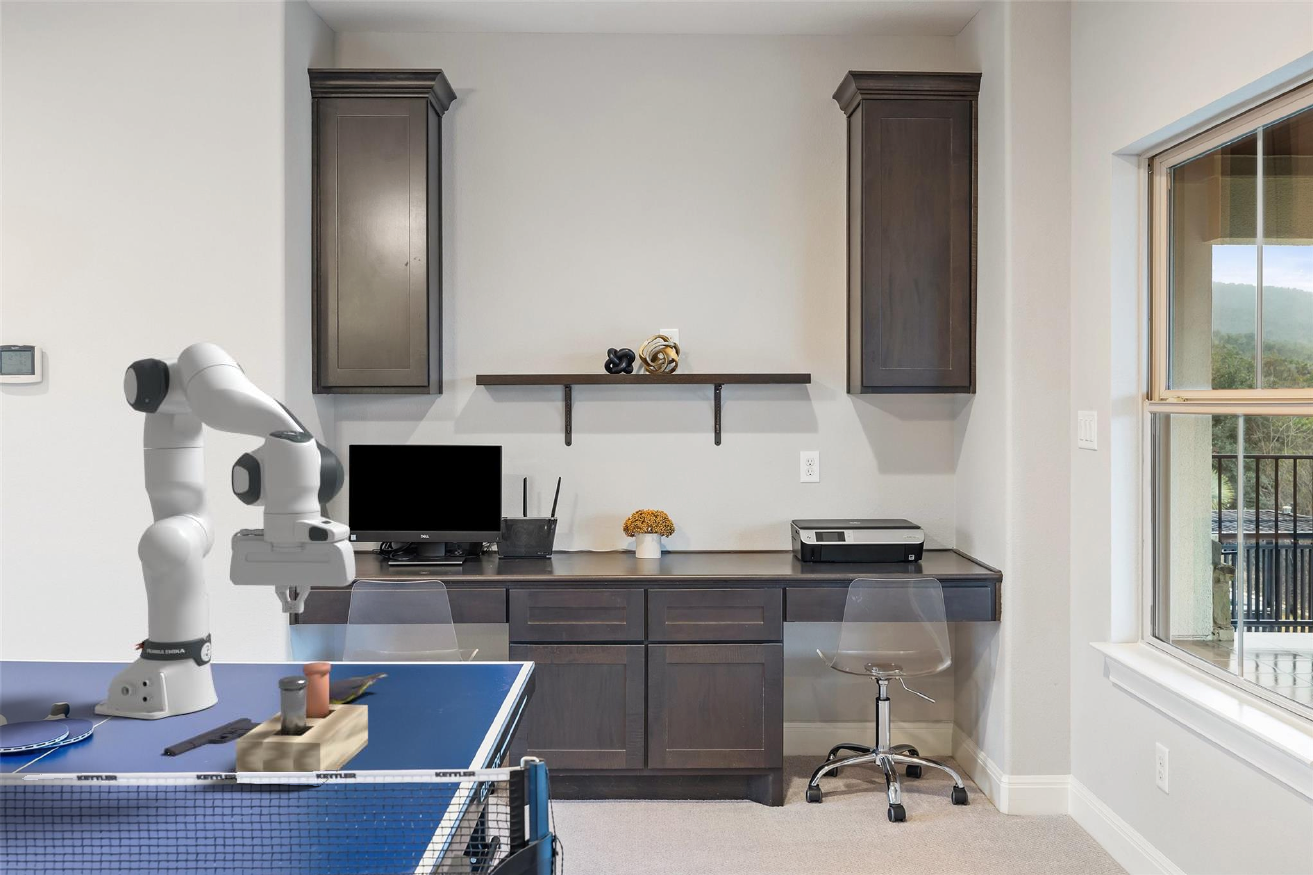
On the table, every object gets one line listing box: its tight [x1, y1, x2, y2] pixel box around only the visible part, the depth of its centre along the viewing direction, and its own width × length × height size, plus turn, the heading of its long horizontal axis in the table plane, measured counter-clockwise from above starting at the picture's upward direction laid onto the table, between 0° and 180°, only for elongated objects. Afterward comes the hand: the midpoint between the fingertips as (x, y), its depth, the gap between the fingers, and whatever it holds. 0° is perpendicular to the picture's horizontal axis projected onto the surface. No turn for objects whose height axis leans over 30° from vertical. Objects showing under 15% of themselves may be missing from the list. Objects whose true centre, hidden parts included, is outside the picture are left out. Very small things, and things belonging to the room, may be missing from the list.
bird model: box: [329, 672, 388, 705], centre depth 196 cm, size 5×20×5 cm, turn 144°
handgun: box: [163, 717, 263, 757], centre depth 172 cm, size 18×2×12 cm
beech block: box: [235, 704, 369, 773], centre depth 161 cm, size 14×20×7 cm
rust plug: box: [302, 661, 332, 719], centre depth 166 cm, size 5×5×10 cm
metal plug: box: [277, 675, 308, 736], centre depth 157 cm, size 5×5×10 cm
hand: (293, 612), depth 156 cm, fingers closed
